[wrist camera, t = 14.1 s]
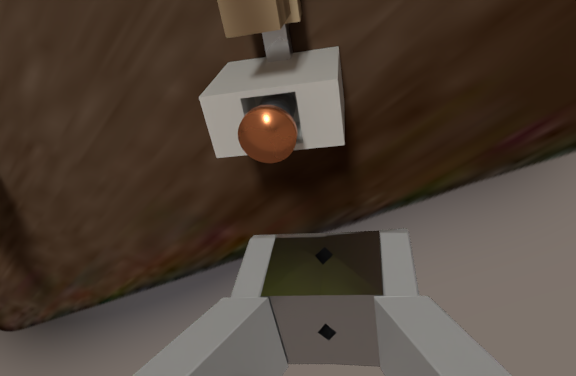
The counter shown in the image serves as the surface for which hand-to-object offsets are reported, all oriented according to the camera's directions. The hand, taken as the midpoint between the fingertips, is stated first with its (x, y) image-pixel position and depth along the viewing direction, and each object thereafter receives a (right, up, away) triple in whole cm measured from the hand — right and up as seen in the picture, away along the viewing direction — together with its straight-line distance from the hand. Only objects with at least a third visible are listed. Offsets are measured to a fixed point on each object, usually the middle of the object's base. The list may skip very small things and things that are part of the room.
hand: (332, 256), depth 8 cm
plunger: (-2, +8, +24) cm, 25 cm away
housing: (-1, +11, +29) cm, 31 cm away
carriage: (-2, +18, +25) cm, 31 cm away
